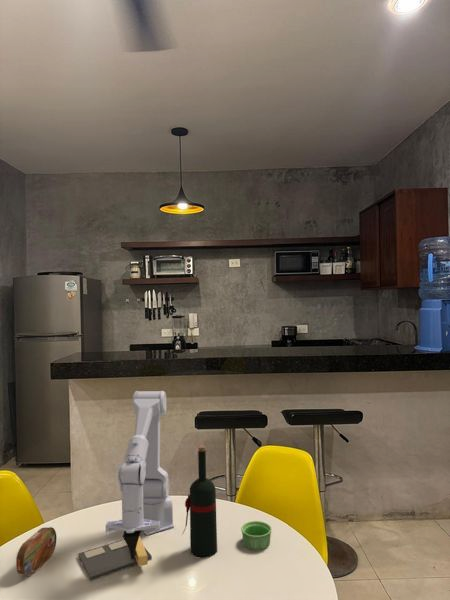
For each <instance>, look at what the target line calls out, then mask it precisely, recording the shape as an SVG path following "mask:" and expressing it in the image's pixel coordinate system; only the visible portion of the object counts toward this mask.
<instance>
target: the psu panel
mask: <svg viewBox="0 0 450 600" xmlns="http://www.w3.org/2000/svg"><path fill="white" fill-rule="evenodd" d="M144 548H145V551H146V553H147V559H148V561H152V557H153V556H152V554H151V553H150V552H149V551H148V550H147V548H146V547H145V546H144ZM77 557H78V560H79V561H80V563H81V565H82V568H83V569H84V571H85V572H86V575H87V577H88V578H89V580H90V581H91V582H92V581H94V580H97V579H100V578H102V577H106V576H109V575H111V574H114V573H117V572H120V571H123V570H125V569H129V568H131V567H135V566H136V565H137V566H138V563H137V560H136V557H135V558H134V559H131V554H130V550H129V548H128V545H127V543H126V542H125V540H124V539H120V540H117V541H113V542H111V543H106V544H103V545H101V546H97V547H94V548H91V549H88V550H85V551H81V552H78V554H77Z"/></svg>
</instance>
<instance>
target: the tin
mask: <svg viewBox="0 0 450 600" xmlns="http://www.w3.org/2000/svg"><path fill="white" fill-rule="evenodd" d="M57 540H58V539H57V532H56V529H55V528H54V527H53V526H49V527H42V528H40V529H38V530H37V531H36V532H34V534H32V535H31V536H30V537H29V538H28V539H26V540H25V541H24V542H23V543H22V544H21V546H20V547H19V549H18V551H17V553H16V558H15V559H16V560H15V561H16V562H15V564H16V571H17V573H18V574H19V575H20V576H28V577H30V576H33V575H34V574H35V573H36V572H37V571H38V570H40V568H41V567H42V566H43V565H44V564H45V563H46V562H47V561H48V560H49V559H50V558H51V557H52V556H53V554H54V553H55V549H56V546H57Z"/></svg>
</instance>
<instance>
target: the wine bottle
mask: <svg viewBox="0 0 450 600" xmlns="http://www.w3.org/2000/svg"><path fill="white" fill-rule="evenodd" d="M206 452H207V451H206V446H205V445H199V446H198V451H197V453H198V454H197V459H198V461H197V462H198V465H197V467H198V470H197V471H198V478H197V479H195V480H194V481H193V482H192V483H191V485H190V486H189V493H188V495H187V498H186V499H185V502H184V506H185V508H186V512H185V513H186V516H185V517H186V518H185V528H184V530H183V531H182V534H181V536H183V534H185V530H186V528H187V526H188V520H189V521H190V522H189V526H190V527H189V530H190V532H189V535H190V536H189V537H190V538H189V540H190V544H189V545H190V554H191V555H192V556H194V557H196V558H199V559H207V558H210V557H213V556H215V555H216V553H217V552H218V532H217V531H218V529H217V527H218V526H217V524H218V523H217V495H216V492H217V491H216V486H215V484H214V482H213V481H212V480H210V479H209V478H207V455H206V454H207V453H206ZM188 517H189V519H188Z"/></svg>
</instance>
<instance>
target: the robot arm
mask: <svg viewBox="0 0 450 600" xmlns="http://www.w3.org/2000/svg"><path fill="white" fill-rule="evenodd" d="M131 402H132V408H133V412H134V414H135V415H136V417H135V423H134V432H133V436H132V437H130V438H129V439H128V444H127V448H126V452H125V456H124V460H123V463H121V464H120V465H119V468H118V474H117V475H118V476H117V480H118V484H119V491H120V492H121V519H119V520H118V519H117V520H112V521H111V520H110V521H107V522H106V523H105V533H110V532H113V531H115V532H116V531H119V532H123V535H122V537H123V539H124V540H125V542H126V543H127V545H128V548H129V550H130V554H131V559H134V558H135V556H136V546H137V542H138V539H139V536H140V537H141V533H142V532H143V533H144V534H145V535H146V536H149V535H153V534H155V533H159V532H162V531H165V530H169V529H171V528H174V527H175V525H174V520H173V519H174V518H173V517H174V515H173V513H174V511H173V502H172V499H171V497H170V496H169V492H170V480H169V473H168V472H167V471H166V470H164V469H163V468H162V467H161V418H162V417H163V416H165V415H167V393H166V392H165V391H164V390H160V391H159V390H158V391H157V390H156V391H153V390H152V391H151V390H150V391H145V390H144V391H143V390H142V391H140V390H136V391H135V392H133V395H132V401H131ZM123 539H122V540H123Z"/></svg>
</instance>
